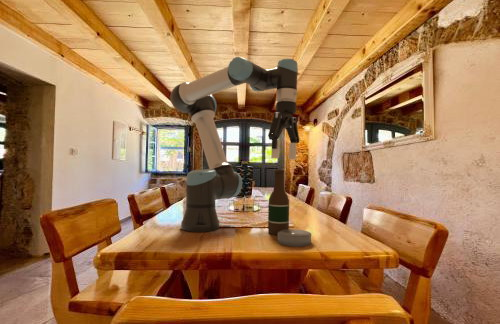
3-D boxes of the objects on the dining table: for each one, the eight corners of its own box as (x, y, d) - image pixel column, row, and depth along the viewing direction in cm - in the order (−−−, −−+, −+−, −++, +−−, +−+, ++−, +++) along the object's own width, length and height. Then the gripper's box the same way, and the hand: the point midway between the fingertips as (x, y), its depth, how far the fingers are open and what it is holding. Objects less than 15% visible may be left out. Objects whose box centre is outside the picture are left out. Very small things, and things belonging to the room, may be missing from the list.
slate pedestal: (271, 242, 90) (271, 233, 90) (287, 236, 99) (287, 227, 99) (302, 249, 83) (302, 238, 83) (316, 241, 92) (316, 231, 92)
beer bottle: (290, 236, 99) (290, 169, 99) (268, 235, 99) (269, 169, 99) (287, 231, 106) (288, 169, 107) (267, 230, 107) (268, 169, 107)
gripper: (278, 93, 90) (276, 158, 90) (309, 107, 110) (307, 160, 110) (259, 96, 94) (257, 157, 94) (292, 109, 114) (290, 159, 114)
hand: (284, 159), depth 102 cm, fingers open, 13 cm apart
